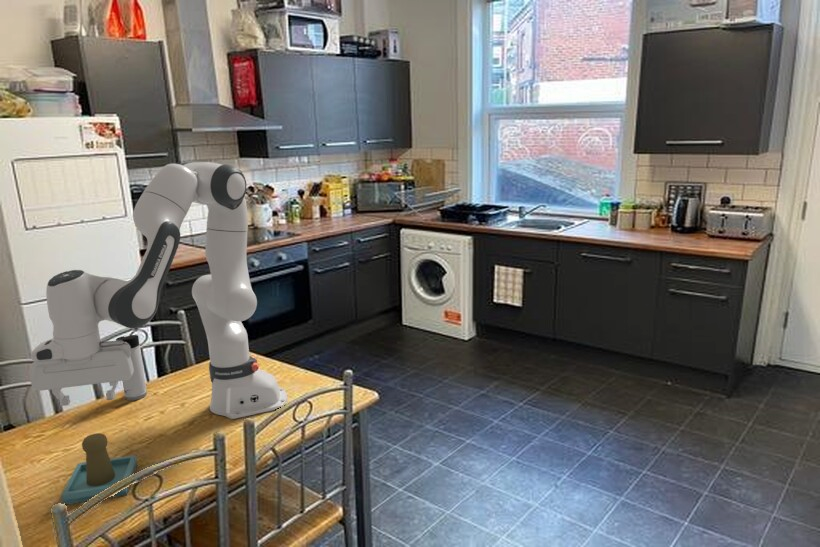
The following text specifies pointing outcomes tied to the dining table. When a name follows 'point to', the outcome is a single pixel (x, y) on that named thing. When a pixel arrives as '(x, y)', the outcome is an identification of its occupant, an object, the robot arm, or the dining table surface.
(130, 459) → the tray
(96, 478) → the brown tapered cylinder
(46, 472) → the dining table surface
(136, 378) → the travel mug
